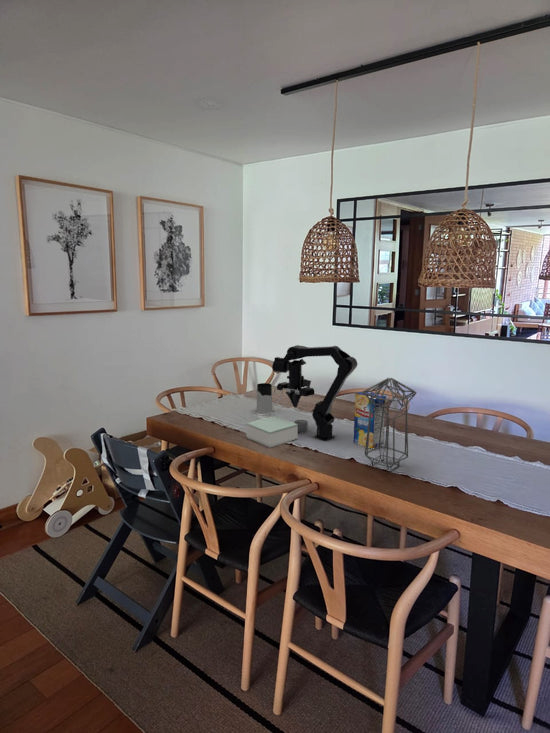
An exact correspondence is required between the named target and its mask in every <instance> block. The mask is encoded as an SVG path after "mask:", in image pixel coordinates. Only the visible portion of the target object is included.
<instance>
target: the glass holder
mask: <svg viewBox="0 0 550 733" xmlns="http://www.w3.org/2000/svg"><path fill="white" fill-rule="evenodd" d="M272 385H273V384H271V383H267V382H262V383H258V384H257V385H256V412H255V414H256V413H258V414H265V415H266V416H270V415H269V414H271V415H273V414H272V413H273V407H274V406H276V405H277V404H278V403H279V402H280V401H281V399H282V397H283V394H284V388H283V389H282V390H281V395H280V397H279V399H278V400H277V401H276V402H275V403H274V404H273V396H274V395H276V391H277V386H276V387H275V388H274V393H272V392H273V391H272V389H273V386H272Z"/></svg>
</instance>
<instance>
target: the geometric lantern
mask: <svg viewBox="0 0 550 733" xmlns="http://www.w3.org/2000/svg"><path fill="white" fill-rule="evenodd" d="M402 387H403V388H405V389H407V390H405V389H403V388H402ZM386 389H388V390H389V391H390V393H391V399H390V398H386V399H383V398H382V396H384V393H385V391H386ZM393 390H394V391H393ZM381 391H382V393H381ZM361 392H362V394H364V395H365V396H366V397H367V398H368V399H369V400H370V410H369V412H370V413H369V423H368V431H367V438H366V446H365V447H364V456H365V457H366V458H367V459H368V460H370V462H371V464H372V466H374V465H373V463H375V464H377V465H380V466H383V467H386V468H387V470H389V471H390V470H392V469H393V468H392V467H393V466H395V465H396V464H397V463H398V464H399V465H400V462H401V461H404V460H406V459H407V458H409V440H408V439H409V437H408V435H409V434H408V433H409V432H408V413H409V412H408V404H409V403H410V401H411V400H413V398H414V397H415V396H416V395H417V391H416V390H414V389H412V388H411V387H408V386H407V385H405V384H403V383H402V382H400V381H398V380H396V379H395V378H393V377H387V378H386V379H383V380H381V381H380V382H377V383H376V384H373V385H372V386H370V387H369V388H366V389H364V390H362V391H361ZM366 392H371V394H368V393H366ZM372 393H375V395H372ZM380 393H381V394H380ZM401 393H402V395H401ZM406 393H409V394H406ZM367 395H368V396H370V397H371V399H370V398H369V397H368V396H367ZM376 395H377V396H376ZM378 395H381V397H380V398H379V397H378ZM372 398H373V401H372ZM374 398H376V399H379V404H375V403H374ZM396 399H397V400H396ZM381 400H386V403H383V402H382V401H381ZM405 400H406V402H405ZM380 401H381V402H382V404H380ZM400 401H401V402H400ZM392 402H397V403H398V404H399V405H400V409H399V408H396V407H391V406H390V405H391V404H392ZM371 403H373V405H375V406H376V405H379V406H381V407H382V416H380V415H376V414H373V413H372V412H373V410H376V409H378V408H381V407H378V408H376V409H374V408H375V406H374V408H373V410H371ZM385 404H386V406H385ZM387 404H388V405H387ZM382 405H384V406H382ZM403 407H405V410H403V409H402V408H403ZM384 408H385V410H384ZM386 409H387V410H386ZM390 409H393V410H397V412H396V414H395V415H394V417H393V418H392V417H389V411H390ZM371 411H372V412H371ZM399 412H404V414H401V415H398V414H399ZM383 413H385V417H383ZM371 414H373V415H376V416H380V417H382V418H381V428H380V437H379V446H378V447H376V448H374V449H372V450H371V449H370V450H369V449H368V445H369V432H370V420H371ZM403 416H405V428H404V451H401V450H398V449H395V446H396V445H395V444H396V442H395V438H396V437H395V434H396V433H395V432H396V431H395V426H396V424H395V421H396V419H399V418H400V417H403ZM383 418H385V420H386V421H385V423H386V424H385V439H384V440H385V444H384V445H383V446H380V440H381V431H382V422H383ZM390 420H391V421H392V447H390V446H389V440H390V439H389V436H390ZM380 448H383V452H381V449H380ZM375 450H378V452H379V455H378V456H377V457H371V456H370V455H369V453H372V452H374V451H375ZM389 450H390V451H392V456H390V455H388V454H389ZM385 451H386V453H385ZM395 452H398V453H400V454H402V455H401V456H400V457H399V458H396V457H395ZM384 454H386V455H384ZM403 456H405V457H403ZM385 457H386V458H385ZM384 458H385V460H386V461H380V459H381V460H382V459H383V460H384ZM388 459H392V462H393V463H390V462H387V461H389V460H388ZM395 460H397V461H395ZM377 461H378V462H377ZM372 466H371V467H372Z"/></svg>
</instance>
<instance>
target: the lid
mask: <svg viewBox="0 0 550 733" xmlns="http://www.w3.org/2000/svg"><path fill="white" fill-rule="evenodd" d="M245 425H248V426H251V427H253V428H256V429H258V430H261V431H263V432H266V433H268V434H272V433H275V432H279V431H282V430H286V429H289V428H293V427H296V426H298V424H295V422H291V421H289V420H287V419H283V418H282V417H281V418H280V417H278V416H275V415H273V416H269V417H265V418H260V419H257V420H253V421H248V422H246V423H245Z"/></svg>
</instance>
